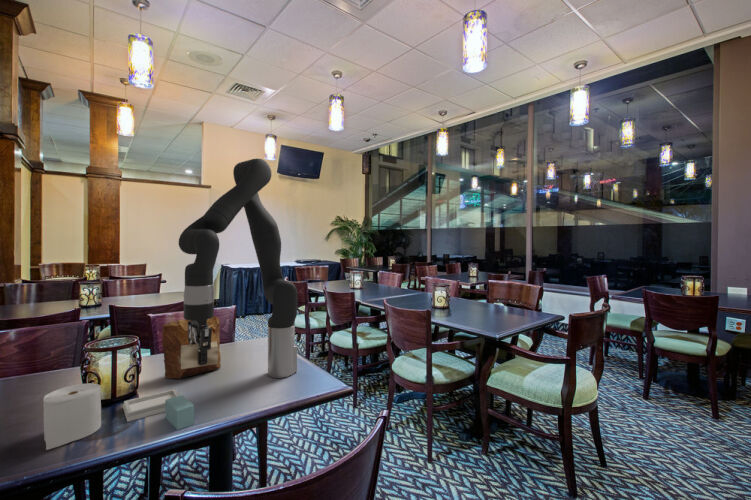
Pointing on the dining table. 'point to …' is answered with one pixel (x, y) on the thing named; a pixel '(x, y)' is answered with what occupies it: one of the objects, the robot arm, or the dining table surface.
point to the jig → (147, 405)
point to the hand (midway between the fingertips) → (199, 361)
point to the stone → (178, 336)
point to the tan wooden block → (191, 355)
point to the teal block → (179, 412)
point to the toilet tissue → (71, 414)
